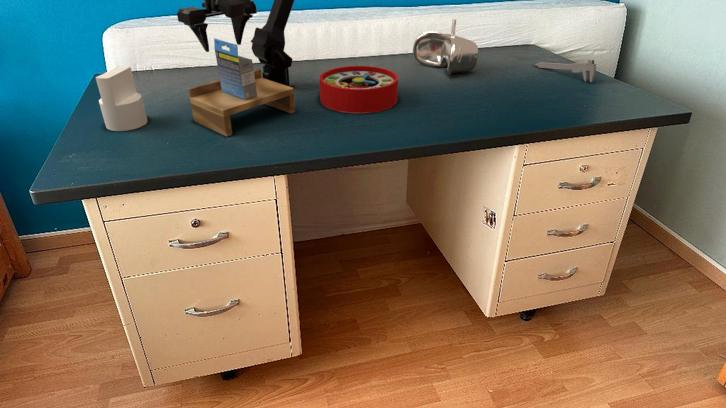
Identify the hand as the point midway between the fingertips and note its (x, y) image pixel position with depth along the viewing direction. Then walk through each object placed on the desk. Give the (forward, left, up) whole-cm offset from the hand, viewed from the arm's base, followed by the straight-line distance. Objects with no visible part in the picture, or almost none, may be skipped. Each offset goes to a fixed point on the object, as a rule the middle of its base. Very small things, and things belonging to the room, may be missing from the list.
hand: (223, 48), depth 124 cm
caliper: (-78, +55, -13) cm, 97 cm away
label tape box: (+6, +13, -7) cm, 17 cm away
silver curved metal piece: (-59, +26, -13) cm, 66 cm away
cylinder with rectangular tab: (+26, -4, -13) cm, 29 cm away
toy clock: (-22, +25, -13) cm, 36 cm away
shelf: (+5, +13, -13) cm, 19 cm away
